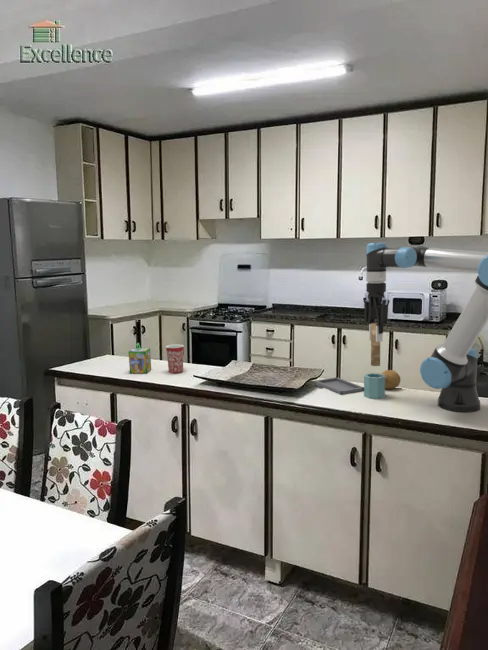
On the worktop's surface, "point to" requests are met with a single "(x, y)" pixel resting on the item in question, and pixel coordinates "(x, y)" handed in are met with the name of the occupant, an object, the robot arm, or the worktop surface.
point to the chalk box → (139, 360)
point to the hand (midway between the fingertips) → (375, 340)
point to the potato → (391, 379)
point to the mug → (175, 358)
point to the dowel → (374, 347)
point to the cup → (374, 385)
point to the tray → (338, 386)
